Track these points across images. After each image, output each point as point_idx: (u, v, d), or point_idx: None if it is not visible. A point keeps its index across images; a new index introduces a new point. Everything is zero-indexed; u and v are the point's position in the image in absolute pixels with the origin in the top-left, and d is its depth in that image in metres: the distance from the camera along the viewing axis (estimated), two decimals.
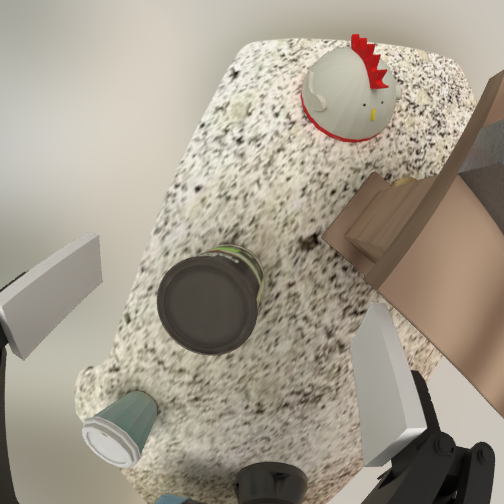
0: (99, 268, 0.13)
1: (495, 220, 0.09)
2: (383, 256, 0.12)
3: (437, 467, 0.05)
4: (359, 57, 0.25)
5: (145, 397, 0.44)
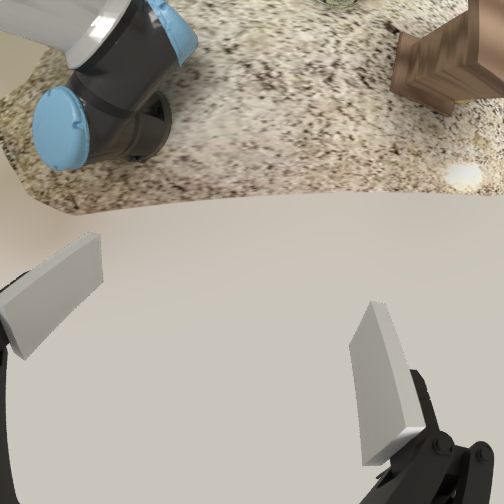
0: (100, 268, 0.13)
1: None
2: None
3: (436, 466, 0.05)
4: None
5: None
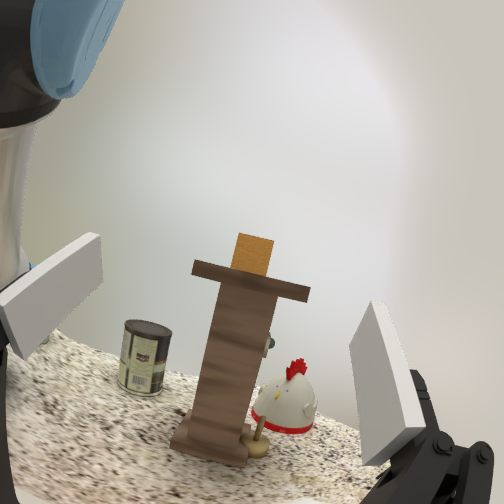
0: (100, 268, 0.13)
1: None
2: None
3: (436, 466, 0.05)
4: None
5: (47, 338, 0.54)
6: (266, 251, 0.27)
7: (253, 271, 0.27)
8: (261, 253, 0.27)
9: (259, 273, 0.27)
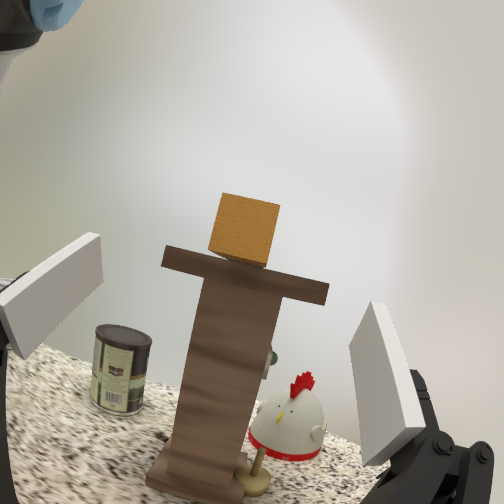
0: (100, 268, 0.13)
1: None
2: None
3: (436, 466, 0.05)
4: None
5: None
6: (267, 222, 0.16)
7: (246, 255, 0.16)
8: (260, 225, 0.16)
9: (256, 258, 0.16)
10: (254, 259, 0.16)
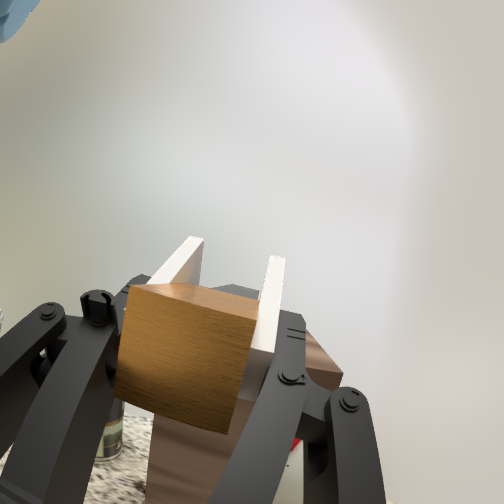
0: (199, 271, 0.15)
1: None
2: None
3: (288, 397, 0.07)
4: None
5: None
6: (226, 359, 0.07)
7: (184, 419, 0.07)
8: (210, 364, 0.07)
9: (205, 426, 0.07)
10: (201, 426, 0.07)
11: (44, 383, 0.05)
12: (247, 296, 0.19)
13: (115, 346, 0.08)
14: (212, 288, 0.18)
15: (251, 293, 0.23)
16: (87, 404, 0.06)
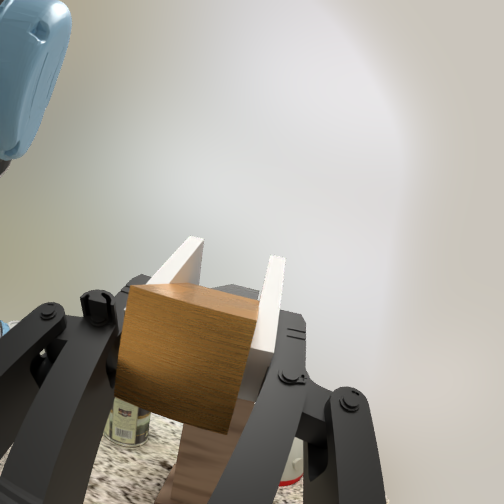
0: (199, 271, 0.15)
1: None
2: None
3: (288, 397, 0.07)
4: None
5: None
6: (226, 359, 0.07)
7: (184, 418, 0.07)
8: (210, 364, 0.07)
9: (205, 425, 0.07)
10: (201, 426, 0.07)
11: (44, 383, 0.05)
12: (247, 296, 0.19)
13: (115, 346, 0.08)
14: (212, 288, 0.18)
15: (251, 293, 0.23)
16: (87, 404, 0.06)
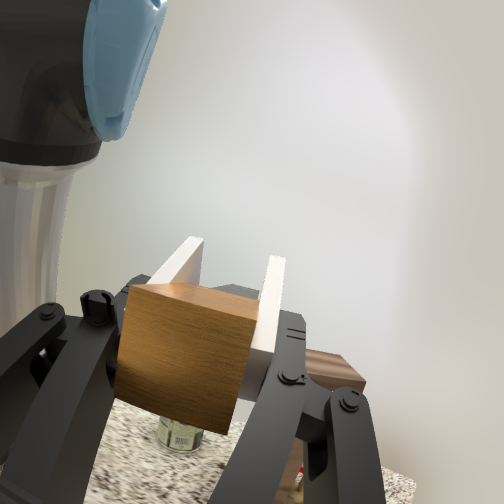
0: (199, 271, 0.15)
1: None
2: None
3: (288, 398, 0.07)
4: None
5: None
6: (227, 359, 0.07)
7: (184, 419, 0.07)
8: (210, 364, 0.07)
9: (205, 426, 0.07)
10: (201, 426, 0.07)
11: (44, 383, 0.05)
12: (247, 296, 0.19)
13: (115, 346, 0.08)
14: (212, 288, 0.18)
15: (251, 293, 0.23)
16: (87, 404, 0.06)
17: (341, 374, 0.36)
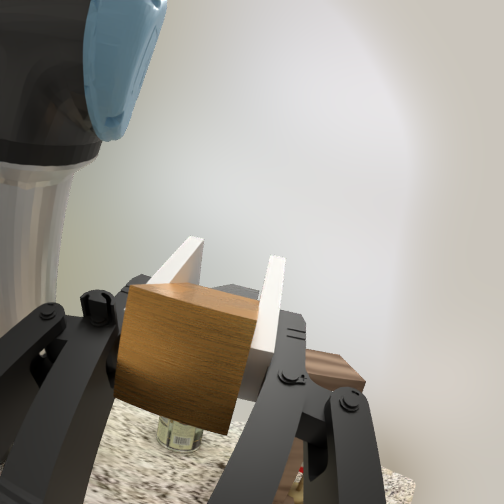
0: (199, 271, 0.15)
1: None
2: None
3: (288, 397, 0.07)
4: None
5: None
6: (226, 359, 0.07)
7: (184, 419, 0.07)
8: (210, 364, 0.07)
9: (205, 426, 0.07)
10: (201, 426, 0.07)
11: (44, 383, 0.05)
12: (247, 296, 0.19)
13: (115, 346, 0.08)
14: (212, 288, 0.18)
15: (251, 293, 0.23)
16: (87, 404, 0.06)
17: (341, 374, 0.36)
